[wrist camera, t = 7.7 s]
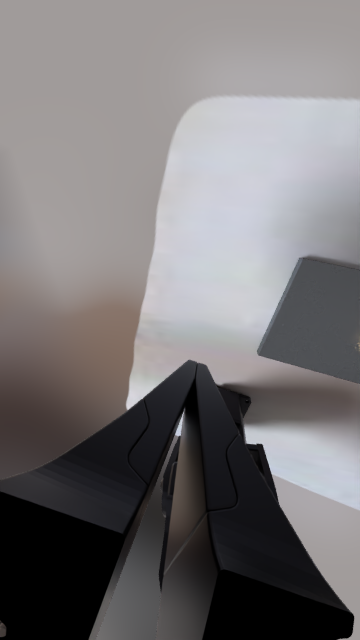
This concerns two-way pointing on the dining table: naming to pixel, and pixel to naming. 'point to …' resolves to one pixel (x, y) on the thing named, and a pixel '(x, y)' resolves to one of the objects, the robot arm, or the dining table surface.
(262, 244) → the dining table surface
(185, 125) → the dining table surface
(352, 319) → the grey stepped plate
